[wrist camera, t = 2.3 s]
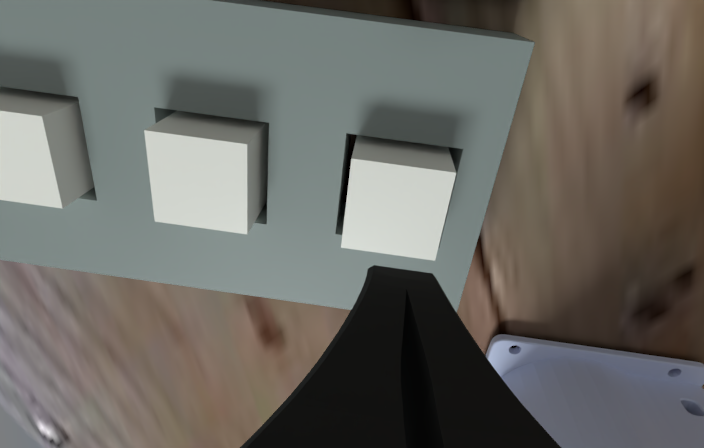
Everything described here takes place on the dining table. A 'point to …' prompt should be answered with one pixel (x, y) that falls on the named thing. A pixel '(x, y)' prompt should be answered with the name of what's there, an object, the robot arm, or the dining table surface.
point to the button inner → (397, 197)
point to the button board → (264, 106)
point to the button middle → (208, 170)
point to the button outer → (42, 148)
